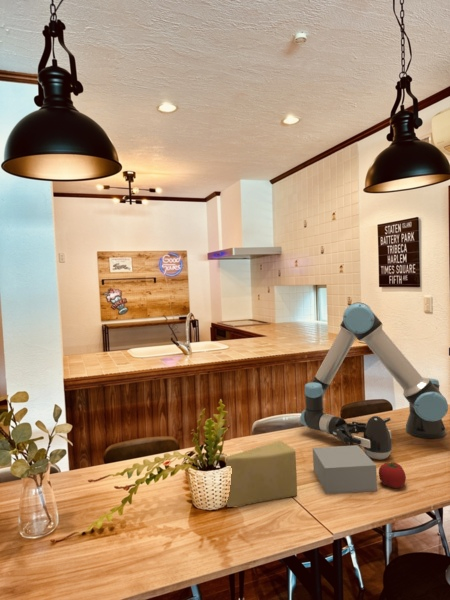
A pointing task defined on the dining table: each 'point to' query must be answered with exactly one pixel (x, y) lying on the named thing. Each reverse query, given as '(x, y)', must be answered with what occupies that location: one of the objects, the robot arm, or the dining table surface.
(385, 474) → the tomato
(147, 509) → the dining table surface
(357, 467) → the slate block
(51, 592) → the dining table surface
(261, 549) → the dining table surface
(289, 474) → the cheese
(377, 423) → the pump dispenser
